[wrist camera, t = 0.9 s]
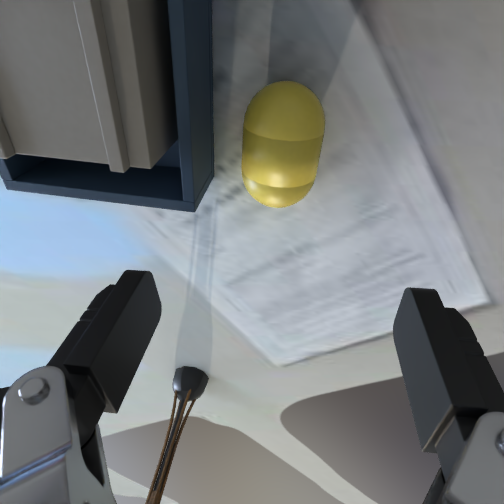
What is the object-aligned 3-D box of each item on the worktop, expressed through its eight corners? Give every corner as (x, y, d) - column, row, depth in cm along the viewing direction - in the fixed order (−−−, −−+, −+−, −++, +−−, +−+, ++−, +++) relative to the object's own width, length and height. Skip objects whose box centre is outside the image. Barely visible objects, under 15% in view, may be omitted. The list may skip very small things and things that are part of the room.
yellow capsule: (251, 70, 22) (238, 86, 18) (330, 77, 21) (336, 96, 17) (245, 183, 27) (234, 216, 23) (309, 190, 26) (310, 225, 22)
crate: (-33, -115, 18) (-147, -152, 14) (210, -101, 17) (175, -137, 13) (55, 158, 28) (6, 189, 23) (214, 176, 27) (195, 213, 22)
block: (24, -23, 20) (-117, -32, 14) (182, -11, 20) (116, -14, 13) (62, 113, 25) (-27, 155, 18) (189, 126, 25) (145, 175, 18)
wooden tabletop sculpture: (165, 363, 45) (90, 560, 29) (196, 360, 43) (133, 565, 28) (184, 386, 48) (125, 575, 32) (213, 385, 47) (165, 581, 31)
